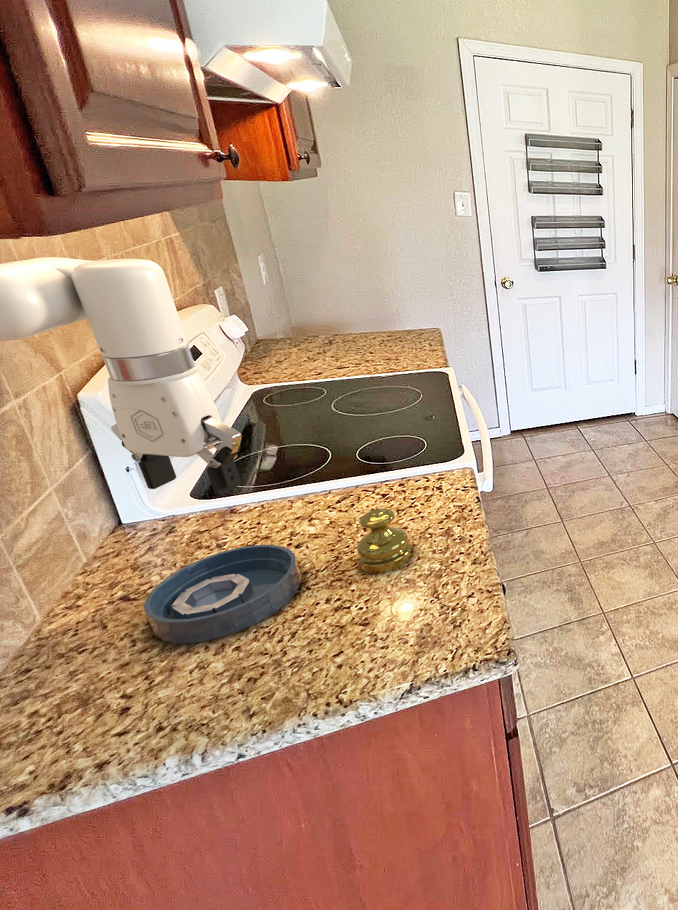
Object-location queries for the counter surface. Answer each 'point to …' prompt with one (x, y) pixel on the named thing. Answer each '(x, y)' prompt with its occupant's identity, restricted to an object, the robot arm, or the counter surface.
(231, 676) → the counter surface
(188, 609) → the ring
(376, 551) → the brass weight
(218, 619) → the bowl
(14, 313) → the robot arm
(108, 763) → the counter surface
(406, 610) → the counter surface
